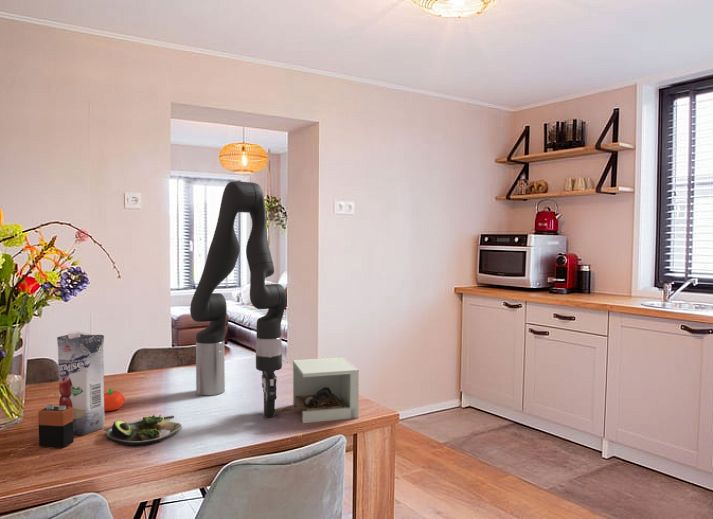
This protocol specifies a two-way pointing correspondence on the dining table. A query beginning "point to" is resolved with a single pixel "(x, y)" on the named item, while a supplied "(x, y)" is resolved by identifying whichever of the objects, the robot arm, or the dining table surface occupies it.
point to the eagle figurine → (319, 398)
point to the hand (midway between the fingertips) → (269, 408)
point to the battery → (55, 426)
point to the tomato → (113, 400)
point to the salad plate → (142, 431)
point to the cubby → (333, 376)
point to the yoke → (301, 404)
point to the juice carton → (82, 379)
